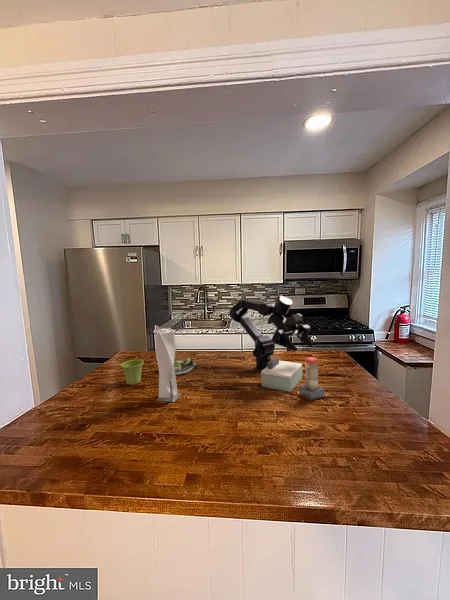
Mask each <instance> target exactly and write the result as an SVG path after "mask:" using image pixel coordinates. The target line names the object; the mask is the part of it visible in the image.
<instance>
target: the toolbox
mask: <svg viewBox="0 0 450 600" xmlns="http://www.w3.org/2000/svg"><path fill="white" fill-rule="evenodd" d="M260 376H261V378H260V379H261V387H264V388H269V389H275V390H279V391H285V392H288V393H290V392H292V391H293V389H294V388H295V387H296V386H297V385H298V384H299V383H300V382H301V380H302V379H303V366H302V367H301V368H300V369H299V370H298V371H297V372H296V373H295V374H294V375H293V376H292V377H291V378H290V379H289V378H283V377H278V376H272V375H266V374H261V375H260Z"/></svg>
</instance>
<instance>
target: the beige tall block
mask: <svg viewBox="0 0 450 600" xmlns="http://www.w3.org/2000/svg"><path fill="white" fill-rule="evenodd" d="M304 359H305V360H304V361H305V362H304V363H305V364H304V365H305V368H304V369H305V384H306V388H307V389H309V390H311V391H312V390H316V389H318V386H319V359H318V358H316V357H315V356H311V357H305V358H304Z"/></svg>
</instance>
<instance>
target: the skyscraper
mask: <svg viewBox="0 0 450 600" xmlns="http://www.w3.org/2000/svg"><path fill="white" fill-rule="evenodd" d="M154 331H155V333H154V334H155V335H154V337H155V338H154V339H155V345H154V349H155V356H156V362H157V365H158V369H159V371H158V398H157V399H156V401H157V402H166V403H175V402H176V401H177V400H178V399H179V398H180V397H181V396H182V393H181V392H178V385H177V379H176V375H175V372H174V368H173V365H174V360H175V357H176V340H175V339H176V337H175V331H174V329H172V328H171V327H168V328H160V327H159V326H158V325H156V324H155V325H154Z"/></svg>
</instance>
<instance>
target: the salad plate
mask: <svg viewBox="0 0 450 600" xmlns="http://www.w3.org/2000/svg"><path fill="white" fill-rule="evenodd" d="M199 365H200V363H195V362H194V361H193V359H192V358H191V357H186V358H184V359H183V360H175V359H174V365H173V368H174V372H175V376H180V375H186V374H188V373H189V372H191V371H193V370H194V369H195V368H196V367H198V366H199ZM157 371H158V372H159V368H157Z"/></svg>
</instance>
